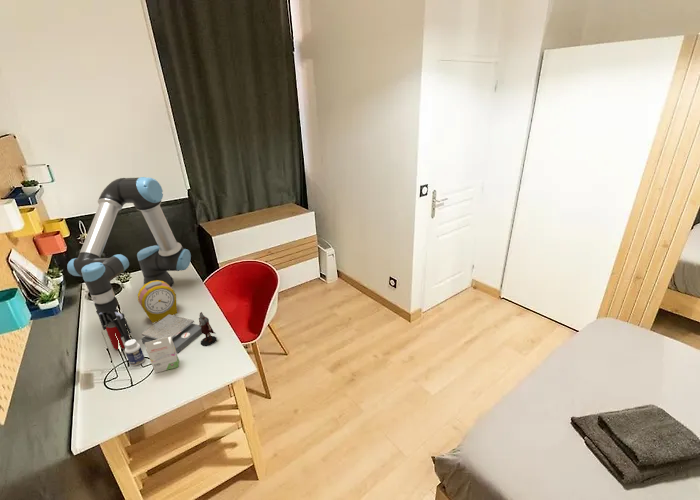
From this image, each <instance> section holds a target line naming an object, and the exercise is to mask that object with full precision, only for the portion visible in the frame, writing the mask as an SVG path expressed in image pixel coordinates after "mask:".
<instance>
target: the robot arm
mask: <svg viewBox="0 0 700 500" xmlns="http://www.w3.org/2000/svg"><path fill="white" fill-rule="evenodd" d="M163 192H164V190H163V188H162V186H161V184H160V182H158V181H157V180H156V179H154V178H153V177H147V176H140V177H120V178H117V179H114V180H113V181H111V182H109V184H108V185H106V187H104V189H103V190H102V192H101V193H100V195H99V198H98V200H97V203H98V207H97V210H96V211H95V214H94V217H93V219H92V221H91V225H89V226H90V227H89V229H88V232H87V235H86V236H85V239H84V241H83V244H82V246H81V249H80V251H79V254H78V256H77V257H75V258H71V259H70V260H69V261H68V263H67V265H66V266H67V267H66V268H67V272H68V273H69V274H70V275H72V276H74V277H82V279H83V280H84V281H83V282H84V283H85V285H86V287H87V290H88V292H89V294H90V296H91V300H92V301H93V305H94V307H95V309H96V312H95V313H96V314H97V316H98V318H99V321H100V324H101V328H102V330H104V331H106V327H107V324H108V323H109V322H112V323H114V324H115V326H116V328H117V329H118V331H119V332H120V334H121V335H122V336H120V337H121V339H122V342H123V344H124V347H125V342H127V341H128V340H130V339H131V337H130V338H129V336H130V334H131V333H132V331H131V329H130V327H129V324H128V322H127V320H126V318H125V313H123V312H122V313H120V312H119V310H118V309H117V307H118V305H119V302H118V300H117V297H116V294H115V292H114V289H113V286H112V284H111V281H112V280H114V279H115V278H117V277H118V276H119V275H121V274H122V273H124V272H125V271H126V270H127V269H128V268H129V266H130V262H129V259H128V257H126V256H125V255H123V254H121V253H120V254H114V255H112V256H111V257H103V258H102V254H103V252H104V249H105V247H106V244H107V241H108V238H109V236H110V233H111V231H112V228H113V225H114V223H115V220H116V218H117V216H118V212H120V211H121V210H122V209H123V207H124V205H125V204H133V206H134V207H135V210H137V211H139V212H141V214H142V216H143V218H144V220H145V223H146V224H147V226H148V229H149V230H150V232H151V234H152V235H153V238H154V240H155V242H156V244H155V245H150V246H147V247H144V248H141V249H140V250H139V251H138V252H137V254H136V257H137V261H138V264H139V267H140V270H141V272H142V275H143V286H144V285H145V284H146V283H148V282H150V281H156V280H159V281H164V282H165V283H167V284H168V285H169V286H170V287H171V288H172V286H173V285H174V284H175V282H174V278H173V277H172V275H171V274H170V273H169V272H171V271H174V272H175V271H176V272H179V271H180V272H183V271H186V270H187V269H188V268H189V266H190V264H191V261H192V260H191V257H192V255H191V252H190V250H189V249H186V248H184V247H183V246H182V244H181V243H180V242H178V241H177V240H176V238H175V236H174V233H173V231H172V229H171V227H170V225H169V223H168V220H167V218H166V216H165V214H164V212H163V209H162V207H161V204H162V199H163V198H164V193H163ZM143 286H142V287H143ZM125 324H126V326H125ZM126 327H127V329H128V331H129V333H128V331H127V329H126ZM128 334H129V335H128ZM125 348H126V347H125ZM125 348H124V349H125Z"/></svg>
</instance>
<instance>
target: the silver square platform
mask: <svg viewBox="0 0 700 500" xmlns="http://www.w3.org/2000/svg"><path fill="white" fill-rule="evenodd" d="M192 323H193V324H194V323H195V319H194V320H193V319H190V318H185V317H181V316H177V315H170V314H169V315H167V316H166V317H164V318H163V319H162V320H160V321H157V322H155V323H153V325H151V326H150V327H149V328H147V329H145V330H144V331H142V332H141V336H143V337H144V336H146V337H150V338H153V339H162V338H165V337H171V338H172V339H173V338H174V337H175V336H177V335H178V334H179V333H180V332H182V331H183V330H184V329H186V328H187V327H188V326H189V325H191V324H192Z"/></svg>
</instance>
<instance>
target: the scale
mask: <svg viewBox="0 0 700 500" xmlns="http://www.w3.org/2000/svg"><path fill="white" fill-rule="evenodd" d="M202 334H203V333H202V332H201V328H200V327H199V324H196V323H194V322H193V323H192V324H191V325H189V326H188V327H187V328H186V329H184V330H183V331H182V332H180V333H179V334H178V335H177V336H175V337H174V338H173V339H172V341H173V343H174V346H175V349H176V352H177V354H179V353H180V352H182V350H184V349H185V348H186V347H187V346H188V345H189V344H191V343H192V342H193V341H195V339H197V338H198V337H199V336H200V335H202ZM140 340H141V343H142V344H143V345H145V342H149V341H153V340H157V339H153V338H150V337H146V336H143V337H141V338H140Z"/></svg>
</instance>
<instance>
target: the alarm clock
mask: <svg viewBox="0 0 700 500" xmlns="http://www.w3.org/2000/svg"><path fill="white" fill-rule="evenodd" d="M143 285H144V284H143ZM137 301H138V303H139V304H140V306H141V308H142V309H143V312H145V314H146V317H148V319H149V321H150V322H151V324H156V323H157V322H159V321H160V320H162V319H163V318H164V317H166V316H167V315H169V314H170V315H174V316H176V315H177V314H178V306H177V305H178V303H177V294H176V292H175V290H174V289H173V288H172V286H171V287H170V286H169V285H168V284H167V283H165V282H164V281H159V280H156V281H150V282H148V283H146V284H145V285H144V286H141V287H140V289H139V290H138V294H137Z"/></svg>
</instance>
